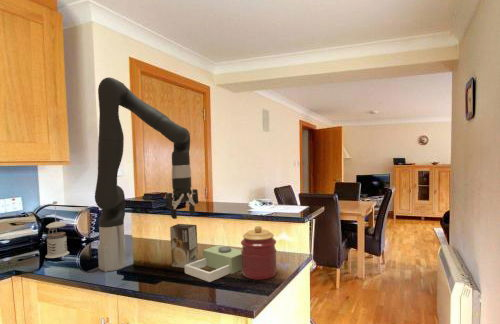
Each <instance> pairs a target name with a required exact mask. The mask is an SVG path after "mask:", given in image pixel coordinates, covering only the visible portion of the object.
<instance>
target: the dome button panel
mask: <svg viewBox="0 0 500 324" xmlns="http://www.w3.org/2000/svg"><path fill="white" fill-rule="evenodd" d="M241 250H242V249H238V248H233V247H230V246H227V245H226V246H225V245H222V244H218V245H214V246H212V247H208V248H205V249H203V250H202V255H203V256H202V259H198V261H195V262H192V263H190V264H187V265H185V268H184V274H186V275H188V276H191V277H195V278H197V279H200V280H202V281H205V282H208V283H211V282H213V281H215V280H218V279H220V278H223V277H225V276H228V275H230V274H231V275H233V274H236V273H237V272H240V271H242V253H241ZM206 267H209V268H212V269H214V270H211V271H208V270H204V268H206ZM202 268H203V269H202Z"/></svg>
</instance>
